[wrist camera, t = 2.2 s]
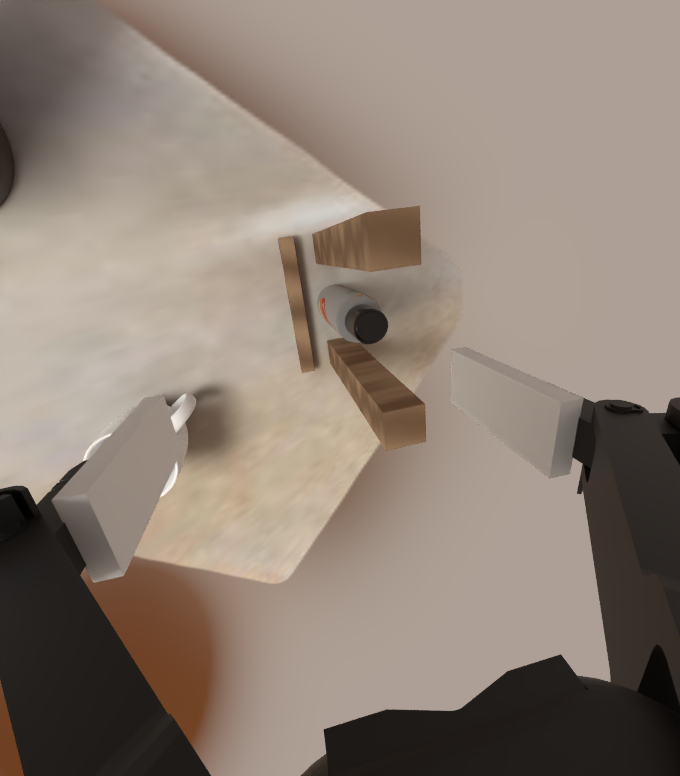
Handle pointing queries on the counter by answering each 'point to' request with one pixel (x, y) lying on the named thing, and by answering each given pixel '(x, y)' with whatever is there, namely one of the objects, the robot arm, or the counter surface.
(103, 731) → the robot arm
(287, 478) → the counter surface
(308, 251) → the counter surface
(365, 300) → the lotion bottle
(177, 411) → the mug
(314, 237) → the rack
